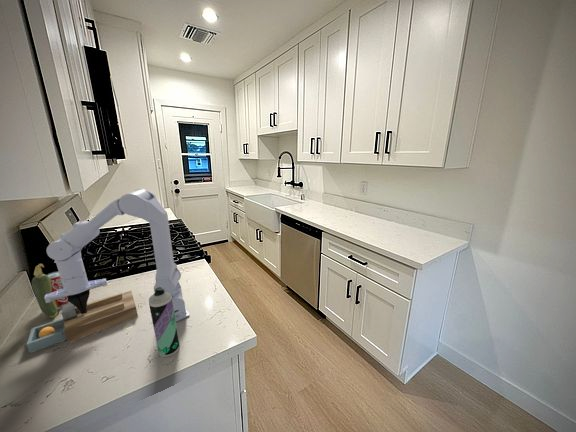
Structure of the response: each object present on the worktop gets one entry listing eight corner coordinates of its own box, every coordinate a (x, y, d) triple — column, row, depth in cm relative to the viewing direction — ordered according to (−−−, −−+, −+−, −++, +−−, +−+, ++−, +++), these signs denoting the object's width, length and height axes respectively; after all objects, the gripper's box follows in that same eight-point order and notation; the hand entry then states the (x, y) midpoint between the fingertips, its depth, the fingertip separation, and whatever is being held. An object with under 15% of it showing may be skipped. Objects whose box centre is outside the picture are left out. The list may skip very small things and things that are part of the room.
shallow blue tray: (67, 339, 71) (65, 330, 71) (30, 353, 67) (26, 344, 66) (69, 324, 77) (67, 316, 77) (34, 336, 73) (31, 328, 72)
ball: (47, 328, 70) (34, 337, 68) (57, 334, 71) (44, 343, 70) (49, 322, 72) (36, 330, 71) (58, 328, 74) (45, 336, 72)
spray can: (156, 349, 68) (144, 288, 62) (175, 338, 71) (166, 280, 66) (162, 360, 64) (150, 297, 58) (182, 349, 68) (173, 288, 62)
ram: (78, 319, 73) (74, 309, 72) (65, 324, 71) (61, 313, 70) (78, 311, 77) (75, 301, 76) (66, 315, 75) (62, 305, 74)
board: (137, 316, 81) (134, 302, 79) (68, 342, 70) (63, 327, 69) (133, 299, 90) (130, 287, 88) (70, 320, 79) (66, 307, 77)
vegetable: (40, 321, 79) (21, 268, 73) (49, 313, 83) (31, 262, 77) (56, 319, 80) (38, 266, 74) (64, 311, 84) (48, 260, 78)
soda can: (76, 296, 92) (68, 269, 89) (68, 306, 87) (59, 277, 83) (56, 299, 90) (47, 272, 87) (47, 309, 84) (37, 280, 81)
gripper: (102, 263, 80) (111, 297, 83) (42, 277, 71) (54, 315, 75) (103, 271, 74) (112, 307, 78) (38, 287, 65) (52, 327, 69)
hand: (84, 311), depth 76 cm, fingers closed
